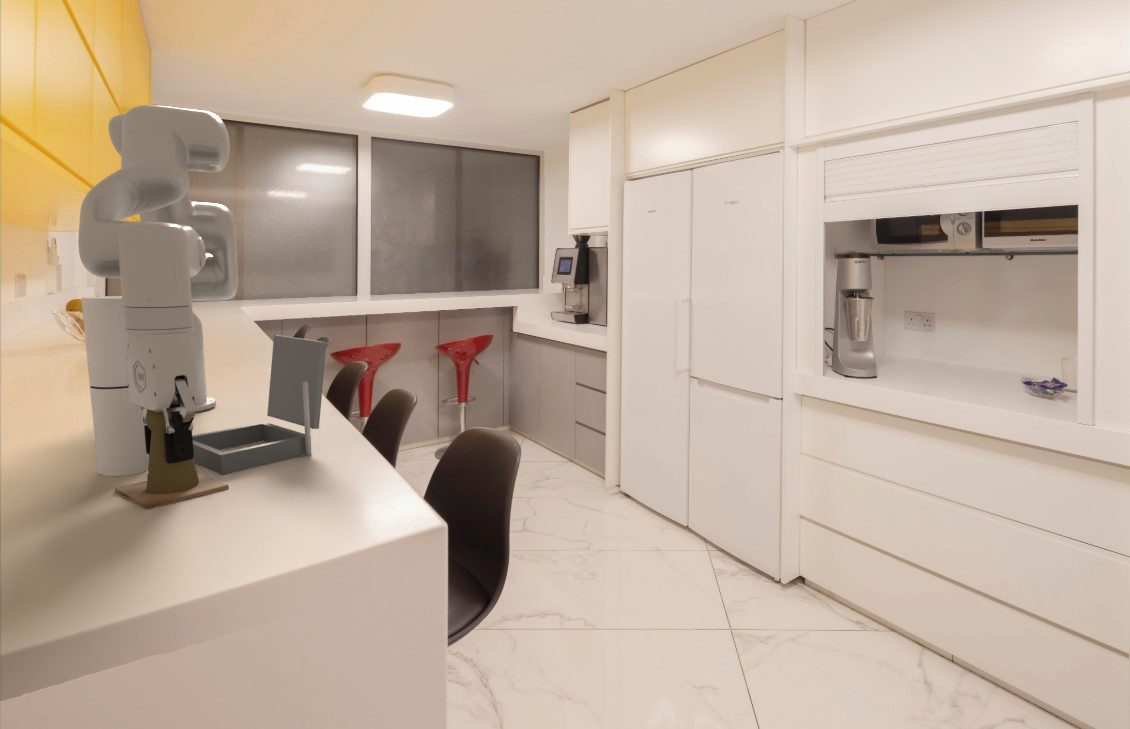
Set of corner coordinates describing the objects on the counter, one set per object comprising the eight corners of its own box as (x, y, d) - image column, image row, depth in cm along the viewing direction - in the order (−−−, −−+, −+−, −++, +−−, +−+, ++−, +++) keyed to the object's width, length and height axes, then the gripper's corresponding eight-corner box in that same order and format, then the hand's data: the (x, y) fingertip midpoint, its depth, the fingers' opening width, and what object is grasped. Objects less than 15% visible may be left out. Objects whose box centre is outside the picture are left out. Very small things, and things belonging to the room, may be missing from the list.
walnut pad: (114, 491, 85) (114, 487, 85) (194, 473, 93) (194, 469, 93) (146, 509, 79) (146, 505, 79) (228, 488, 87) (228, 484, 87)
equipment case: (178, 456, 101) (173, 381, 99) (265, 438, 112) (261, 370, 110) (226, 477, 92) (221, 394, 90) (315, 455, 103) (312, 381, 101)
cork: (135, 488, 85) (129, 406, 83) (178, 475, 90) (173, 398, 89) (167, 496, 82) (162, 411, 81) (209, 482, 88) (205, 403, 86)
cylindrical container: (92, 478, 90) (74, 298, 86) (104, 463, 97) (88, 296, 93) (151, 472, 93) (137, 298, 89) (160, 458, 99) (147, 296, 96)
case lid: (274, 335, 111) (279, 335, 112) (267, 415, 112) (272, 415, 112) (320, 341, 103) (326, 342, 103) (313, 428, 103) (318, 428, 104)
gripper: (100, 317, 85) (112, 450, 88) (155, 327, 75) (167, 477, 78) (162, 314, 91) (172, 439, 94) (221, 323, 81) (230, 462, 84)
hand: (169, 455), depth 86 cm, fingers open, 5 cm apart
